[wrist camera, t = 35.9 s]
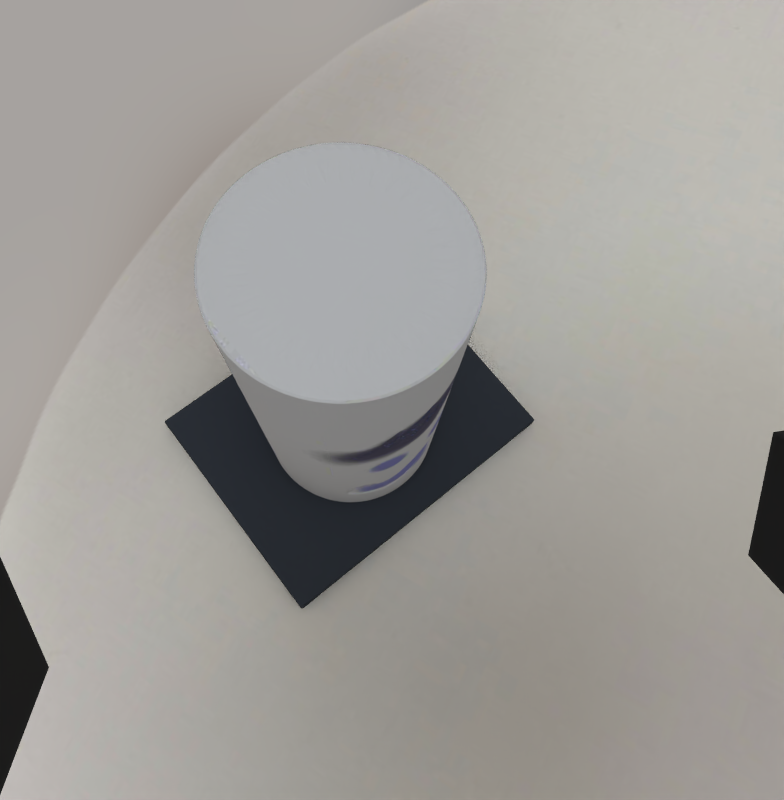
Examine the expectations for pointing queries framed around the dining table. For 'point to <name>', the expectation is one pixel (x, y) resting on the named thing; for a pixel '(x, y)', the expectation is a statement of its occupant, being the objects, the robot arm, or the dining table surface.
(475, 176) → the dining table surface
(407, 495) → the mat
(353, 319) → the container
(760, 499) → the robot arm
